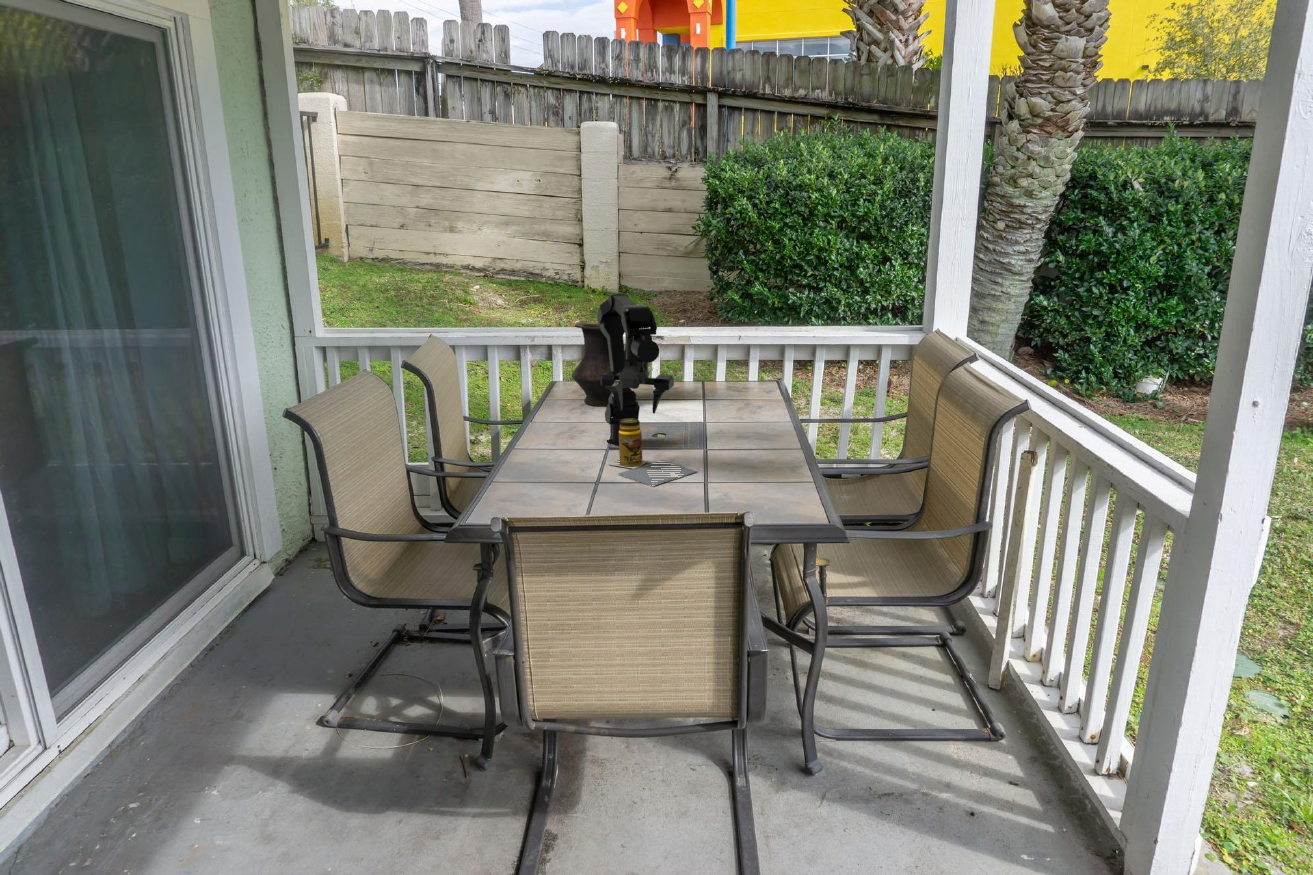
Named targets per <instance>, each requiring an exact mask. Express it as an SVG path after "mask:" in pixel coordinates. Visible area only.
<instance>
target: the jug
mask: <svg viewBox="0 0 1313 875" xmlns="http://www.w3.org/2000/svg"><path fill="white" fill-rule="evenodd" d="M574 327H575V328H578V329H581V331H582V334H583V335H582V336H583V340H584V341H583V343H584V354H583V358H582V359H581V361H580V362H579V363H578V364H577V366H576V367H575V368H574V369H573V371H572V373H571V377H572V380H574V381H575V382H576V383H577V385H578V386H579V387H580V388H581V390H583V392H584V394H585V398H584V400H583V401H584V402H583V403H585V404H587V405H592V406H607V405H608V403H609V401H608V399H609V397H610V394H611V391H610V390H609V389H606V386H602V385H601V376H602V375H603V374H605V373H606V372H608V371H611V368H610V359H609V350H608V341H607V338H606V337H605V335H604V334H603V333H602V332H601V329H600V324H599V323H598V321H597V322H596V321H592V322H583V323H582V322H580V323H577V324H575V325H574ZM624 335H625V337H626V334H625V333H624ZM624 349H625V358H626V344H624Z"/></svg>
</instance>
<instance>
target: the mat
mask: <svg viewBox="0 0 1313 875" xmlns="http://www.w3.org/2000/svg"><path fill="white" fill-rule="evenodd" d="M660 461H664V460H663V459H661V460H660ZM653 463H671V462H669V461H666V462H657V461H654V462H653ZM651 466H680V467H651ZM661 468H681V469H661ZM647 470H681V471H663V472H680V473H675V474H684V475H678V476H684V477H686V476H685V475H687V476H690V475H693V474H696V473H698V470H695V469H691V468H689V467H686V466H682V465H680V464H679V465H678V464H676V465H671V464H651V463H648V464H645V465H644V464H643V465H641V466H639V467H637V468H630V469H629V470H624V471H622V472H619V473H617V475H618V474H619V475H618V476H620V475H621V476H620V477H623V476H625V477H627V478H626V479H628V478H629V480H631V479H633V480H632V481H634V480H635V481H634V482H637V481H639V482H638V483H640V482H641V484H643V483H645V484H644V485H646V484H647V485H646V486H648V485H651V486H652V485H657V484H660V483H663V484H665V483H664V482H666V481H669V482H671V481H670V480H672V479H675V480H677V479H676V478H678V477H649V476H671V475H648V474H670V473H647V472H662V471H647ZM695 472H696V473H695ZM689 474H690V475H689ZM625 477H624V478H625ZM652 479H664V480H652ZM678 479H679V478H678ZM651 481H658V482H651ZM672 481H673V480H672ZM652 483H655V484H652ZM656 483H657V484H656ZM666 483H667V482H666ZM660 485H661V484H660ZM651 486H650V487H651ZM657 486H658V485H657Z"/></svg>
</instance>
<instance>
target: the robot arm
mask: <svg viewBox="0 0 1313 875" xmlns="http://www.w3.org/2000/svg"><path fill="white" fill-rule="evenodd" d="M607 297H608V298H607V299H606V300H605V301H604V302H602V303H601V304H600V305H599V307H598V310H597V316H596V319H597V322H598V323H599V324H600V329H601V332H602V333H603V334H604V335H605V337H606V338H607V341H608V350H609V359H610V368H611V371H608V372H606V373H605V374H603V375H602V376H601V385H602V386H606V389H609V390H610V391H611V394H610V397H609V399H608V401H609V403H608V405H606V409H605V412H604V419H605V422H606V423H607V424H608V425H610V426H609V428H610V429H609V430H610V432H609V433H610V434H609V435H610V439H606V442H607V444H608V443H609V444H611V445H612V444H613V445H614V446H615V445H616V446H619V430H620V421H621V420H622V419H627V418H634V419H638V420H639V415H640V409H641V407H640V405H639V401H637V394H636V392H635V391H634V390H636V389H638V388H639V387H640V385H647V386H653V387H654V389H653V390H652V394H653V399H652V414H656V411H657V409H658V406H659V404H660V400H661V398H662V396H663V395H664V393H666V392H667V391H669V390H671V389H672V388H673V387H674V386H675V379H674V376H673V375H670V374H668V375H667V374H659V375H658V374H657V376H656V377H650V371H649V363H653V362H654V361H656V360H657V359H658V357H659V355H660V348H659V345H658V344H657V343H656V342H655V341H654V340H653V335H654V336H655V335H657V329H658V326H657V323H656V318H655V315H654V314H653V310H652V309H650V307H649V306H648V305H646V304H645V305H643V304H637V303H635V302H634V301H633V300H632V299H631V298H630V297H629V295H628V294H626V293H611V294H610V295H608V296H607ZM625 334H626V336H625V342H624V335H625ZM625 345H626V358H625Z"/></svg>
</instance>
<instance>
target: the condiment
mask: <svg viewBox="0 0 1313 875" xmlns="http://www.w3.org/2000/svg"><path fill="white" fill-rule="evenodd" d="M640 423H641V421H640V420H639V418H638V419H634V418H627V419H622V420H621V421H620V430H619V447H618V454H619V459H620V460H618V459H617V461H620V462H616V460H615V462H614V461H613V462H610V463H608V466H615V467H616V466H617V467H620V468H627V469H634V468H638V467H641V466H644V464H645V465H646V463H648V462H649V460H643V437H642V430H641V425H640ZM615 463H620V464H615Z"/></svg>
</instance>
